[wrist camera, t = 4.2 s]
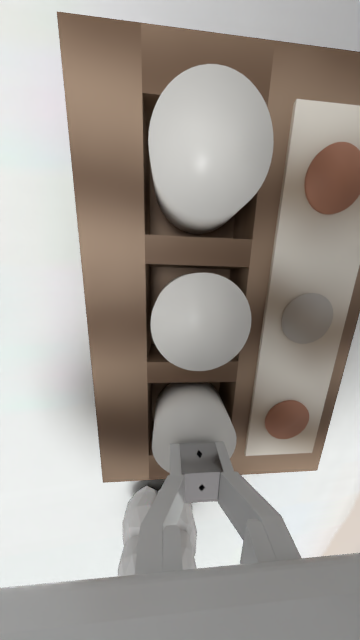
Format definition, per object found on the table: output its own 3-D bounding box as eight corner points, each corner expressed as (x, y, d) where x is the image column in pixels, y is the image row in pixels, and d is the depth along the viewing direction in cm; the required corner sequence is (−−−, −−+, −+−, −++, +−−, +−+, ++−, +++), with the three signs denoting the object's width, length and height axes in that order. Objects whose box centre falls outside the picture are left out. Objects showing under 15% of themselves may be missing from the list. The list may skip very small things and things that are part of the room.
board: (96, 107, 11) (50, -3, 7) (342, 130, 12) (438, 51, 8) (118, 433, 16) (101, 488, 12) (283, 427, 18) (320, 475, 13)
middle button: (154, 272, 11) (149, 270, 8) (233, 274, 11) (257, 274, 8) (155, 348, 12) (150, 371, 9) (226, 347, 12) (245, 370, 9)
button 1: (155, 378, 12) (151, 409, 9) (223, 377, 13) (240, 407, 10) (155, 435, 13) (152, 479, 10) (218, 433, 14) (232, 475, 11)
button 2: (153, 127, 9) (147, 55, 6) (246, 136, 9) (282, 72, 6) (154, 232, 10) (149, 213, 7) (237, 235, 10) (264, 220, 8)
